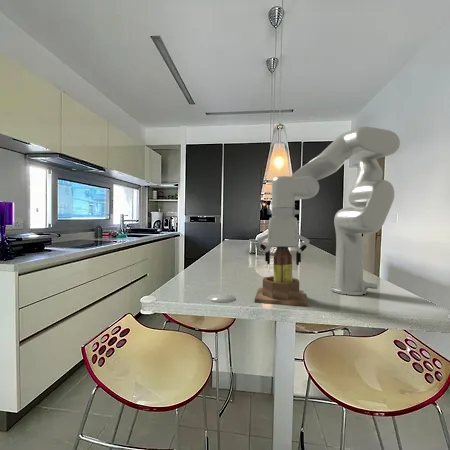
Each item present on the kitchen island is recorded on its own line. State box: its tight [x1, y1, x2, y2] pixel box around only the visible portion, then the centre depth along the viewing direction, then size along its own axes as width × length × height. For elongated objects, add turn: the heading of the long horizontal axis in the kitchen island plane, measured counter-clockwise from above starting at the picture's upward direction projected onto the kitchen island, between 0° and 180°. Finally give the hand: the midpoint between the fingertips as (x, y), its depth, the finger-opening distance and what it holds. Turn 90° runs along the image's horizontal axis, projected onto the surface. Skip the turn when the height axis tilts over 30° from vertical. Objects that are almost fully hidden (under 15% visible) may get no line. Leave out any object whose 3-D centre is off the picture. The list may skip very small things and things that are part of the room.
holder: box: [254, 275, 308, 307], centre depth 97 cm, size 16×16×6 cm
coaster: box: [207, 293, 236, 304], centre depth 94 cm, size 9×9×1 cm
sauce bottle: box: [272, 247, 293, 283], centre depth 96 cm, size 7×6×20 cm
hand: (282, 264), depth 97 cm, fingers open, 9 cm apart
